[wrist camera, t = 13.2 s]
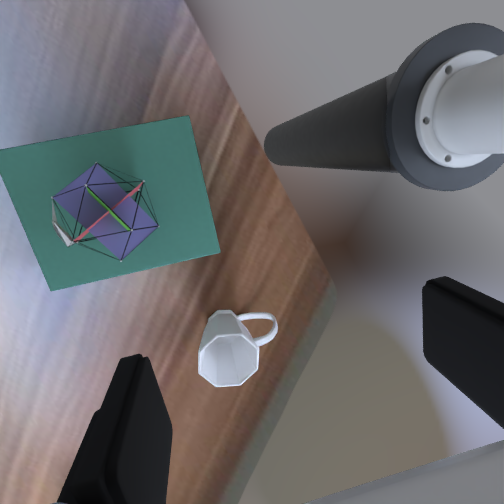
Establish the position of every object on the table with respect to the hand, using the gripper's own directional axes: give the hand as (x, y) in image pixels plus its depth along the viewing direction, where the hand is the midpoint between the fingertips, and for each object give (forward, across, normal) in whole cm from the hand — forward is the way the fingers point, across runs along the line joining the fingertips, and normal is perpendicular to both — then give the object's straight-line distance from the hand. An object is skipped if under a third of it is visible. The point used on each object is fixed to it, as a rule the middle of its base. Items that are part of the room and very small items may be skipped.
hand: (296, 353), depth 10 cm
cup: (+28, +2, +14) cm, 32 cm away
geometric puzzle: (+21, +10, -4) cm, 23 cm away
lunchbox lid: (+21, +10, -4) cm, 24 cm away
